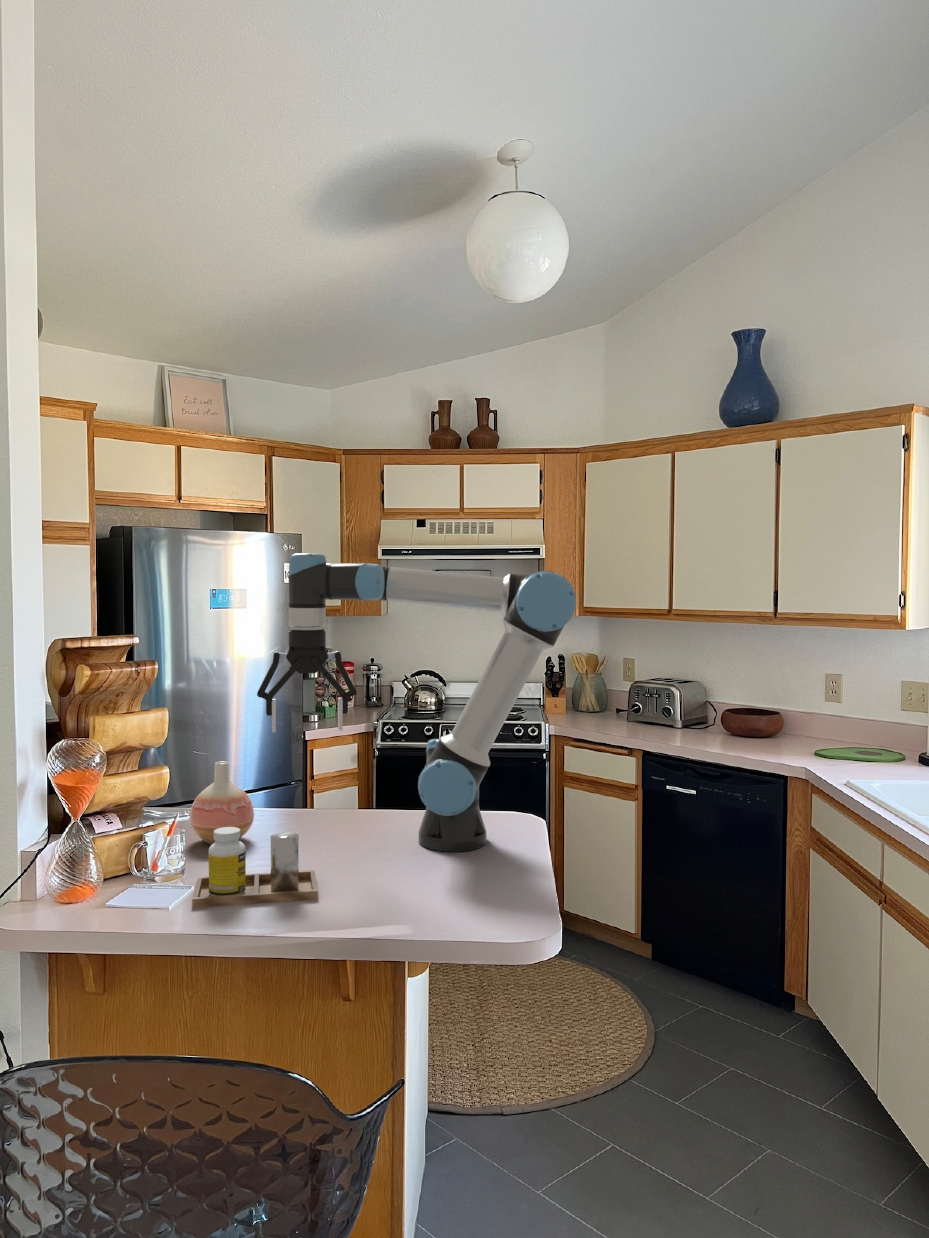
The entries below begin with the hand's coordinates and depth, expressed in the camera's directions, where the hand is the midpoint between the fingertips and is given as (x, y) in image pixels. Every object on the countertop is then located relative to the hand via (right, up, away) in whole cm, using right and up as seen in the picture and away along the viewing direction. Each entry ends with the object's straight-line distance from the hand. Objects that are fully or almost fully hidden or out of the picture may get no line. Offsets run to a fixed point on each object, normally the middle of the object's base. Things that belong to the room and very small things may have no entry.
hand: (307, 730), depth 184 cm
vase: (-21, -26, +12) cm, 36 cm away
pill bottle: (-10, -27, -24) cm, 37 cm away
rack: (-5, -28, -23) cm, 36 cm away
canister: (0, -27, -22) cm, 34 cm away
